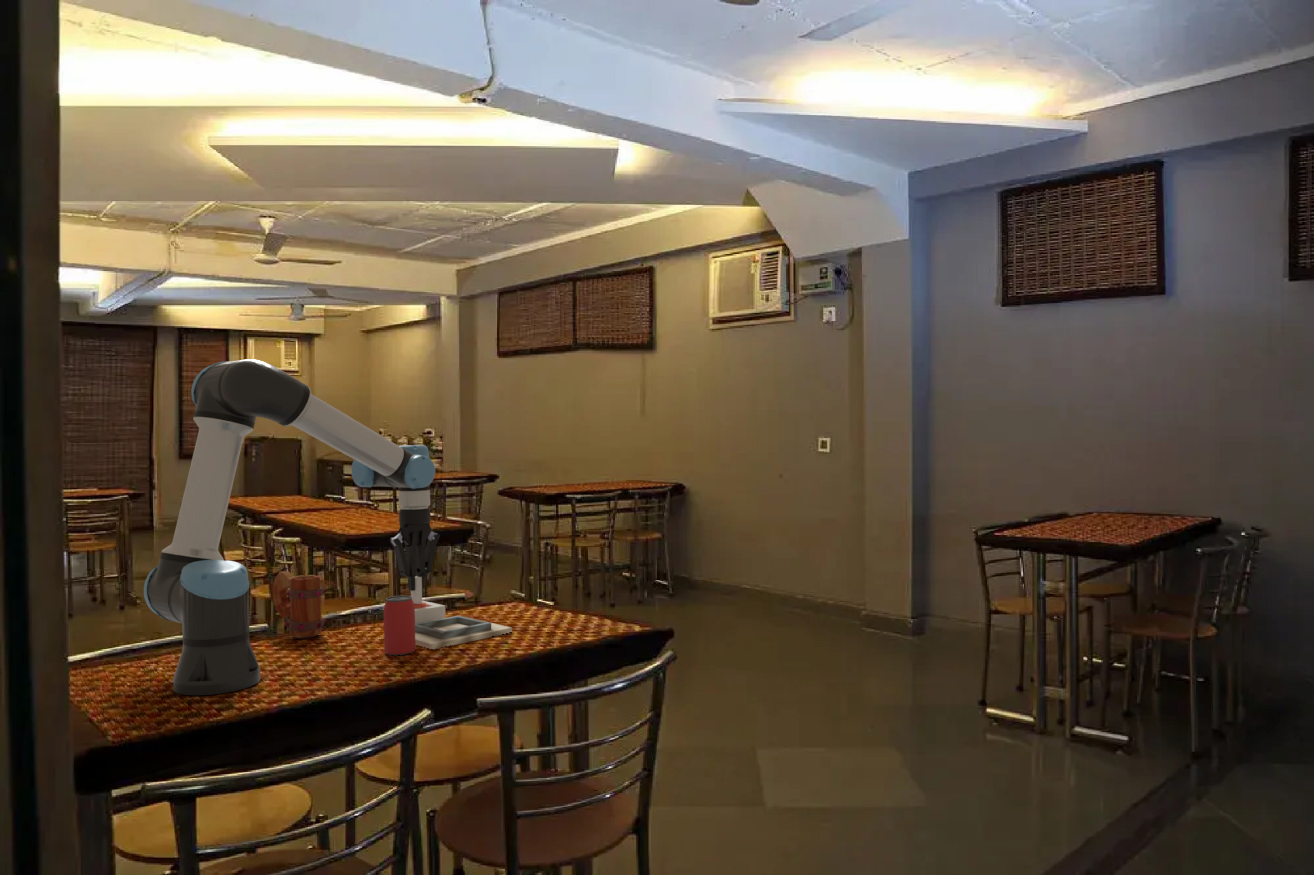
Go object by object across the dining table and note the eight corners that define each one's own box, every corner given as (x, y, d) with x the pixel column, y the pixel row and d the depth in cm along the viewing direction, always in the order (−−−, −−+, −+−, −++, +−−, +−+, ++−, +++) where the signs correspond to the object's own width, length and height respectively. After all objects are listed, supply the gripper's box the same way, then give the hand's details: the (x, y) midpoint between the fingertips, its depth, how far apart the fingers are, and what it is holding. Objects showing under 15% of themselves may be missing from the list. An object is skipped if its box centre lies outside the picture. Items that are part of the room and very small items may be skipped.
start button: (413, 621, 227) (413, 606, 227) (402, 618, 230) (402, 604, 230) (430, 617, 231) (430, 603, 231) (419, 615, 234) (419, 601, 234)
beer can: (382, 651, 205) (381, 596, 205) (412, 647, 208) (411, 594, 208) (387, 657, 199) (385, 601, 199) (418, 654, 202) (417, 598, 202)
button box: (409, 632, 223) (409, 611, 223) (388, 626, 230) (387, 606, 230) (445, 625, 231) (445, 605, 231) (423, 620, 238) (423, 600, 238)
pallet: (431, 649, 206) (431, 637, 206) (389, 637, 218) (389, 626, 218) (512, 632, 222) (511, 621, 222) (468, 622, 234) (468, 611, 234)
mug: (334, 634, 223) (332, 571, 222) (306, 642, 215) (305, 577, 215) (290, 629, 229) (289, 568, 229) (263, 636, 222) (261, 573, 222)
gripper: (429, 504, 237) (431, 597, 238) (382, 508, 228) (384, 605, 228) (445, 506, 232) (447, 601, 233) (398, 510, 223) (401, 609, 223)
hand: (416, 603), depth 231 cm, fingers closed
